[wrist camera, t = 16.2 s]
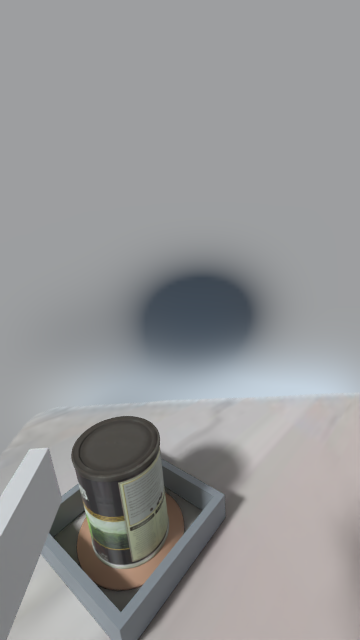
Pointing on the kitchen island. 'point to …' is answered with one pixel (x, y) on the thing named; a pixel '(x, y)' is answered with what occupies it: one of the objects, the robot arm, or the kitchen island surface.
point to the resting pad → (131, 576)
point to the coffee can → (122, 490)
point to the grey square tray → (165, 577)
